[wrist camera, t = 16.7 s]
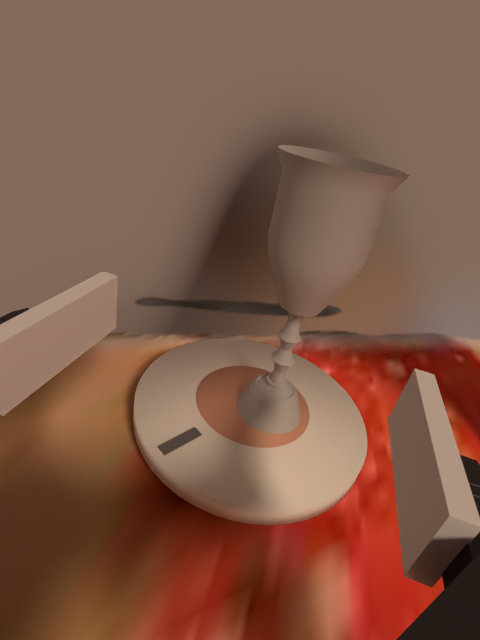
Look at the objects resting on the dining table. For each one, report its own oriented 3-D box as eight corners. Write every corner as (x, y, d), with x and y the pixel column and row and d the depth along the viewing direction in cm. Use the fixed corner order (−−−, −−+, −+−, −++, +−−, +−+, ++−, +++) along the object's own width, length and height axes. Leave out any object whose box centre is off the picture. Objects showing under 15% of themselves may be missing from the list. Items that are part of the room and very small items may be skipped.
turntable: (249, 333, 41) (252, 321, 40) (399, 440, 31) (407, 426, 30) (88, 390, 29) (88, 374, 28) (249, 595, 19) (256, 578, 18)
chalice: (214, 379, 30) (258, 139, 21) (289, 374, 33) (357, 156, 24) (241, 452, 25) (317, 165, 16) (329, 440, 27) (440, 183, 18)
